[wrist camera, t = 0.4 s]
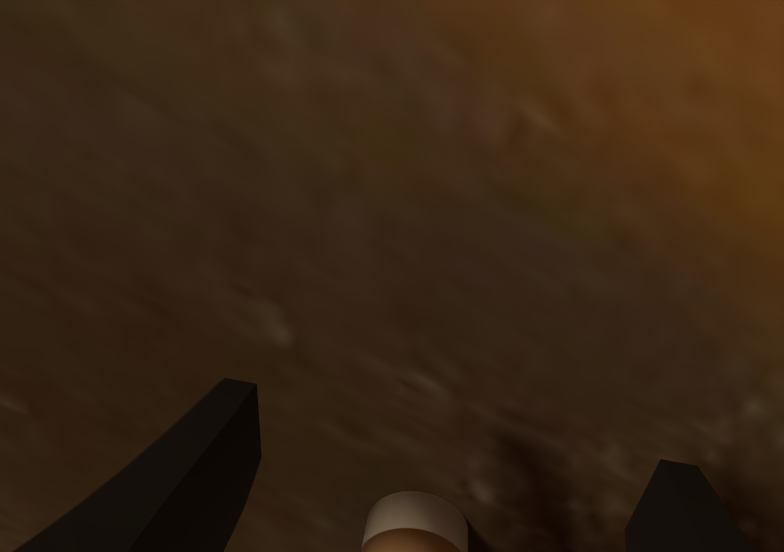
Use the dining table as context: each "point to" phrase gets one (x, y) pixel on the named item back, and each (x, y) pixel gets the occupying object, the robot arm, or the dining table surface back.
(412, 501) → the bobbin
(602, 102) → the dining table surface
